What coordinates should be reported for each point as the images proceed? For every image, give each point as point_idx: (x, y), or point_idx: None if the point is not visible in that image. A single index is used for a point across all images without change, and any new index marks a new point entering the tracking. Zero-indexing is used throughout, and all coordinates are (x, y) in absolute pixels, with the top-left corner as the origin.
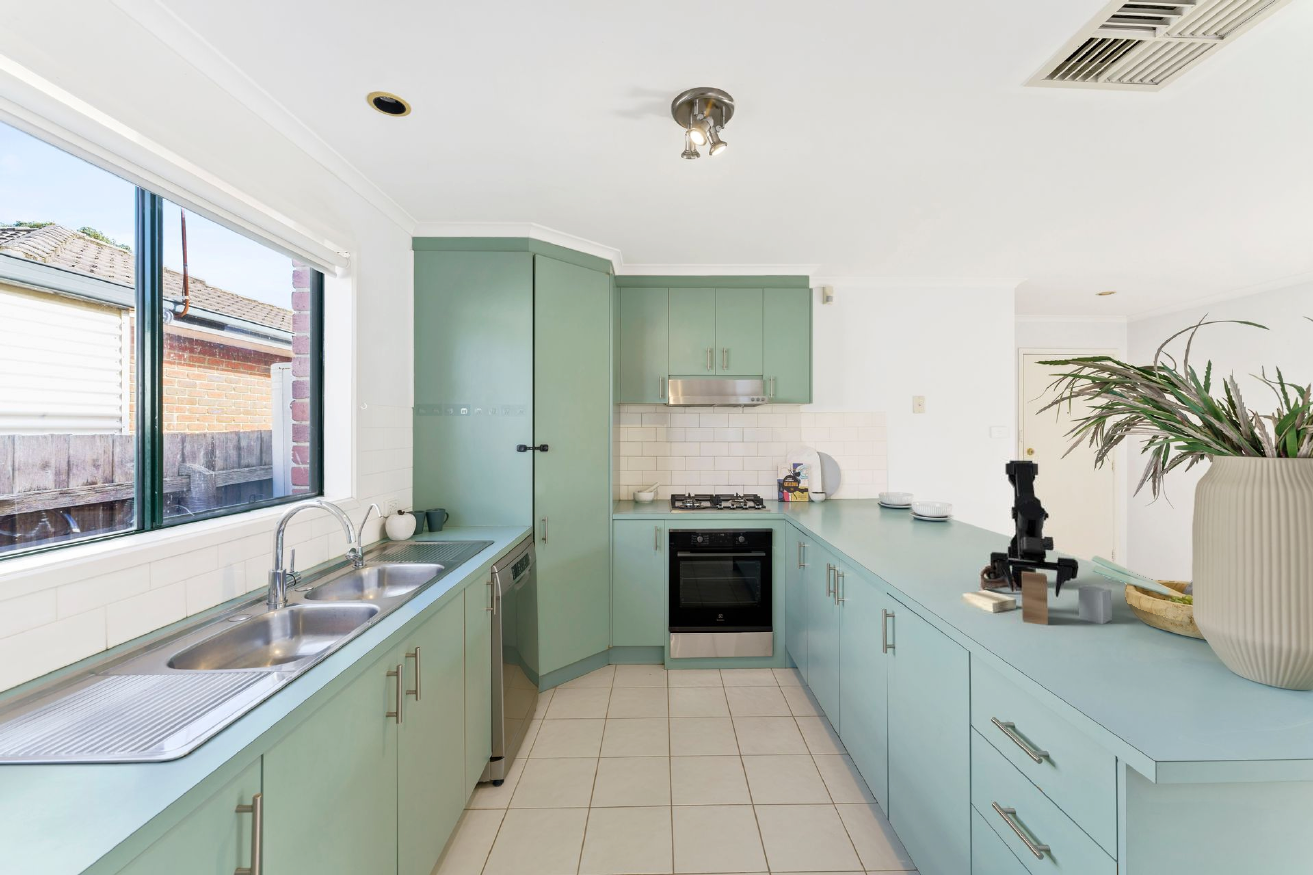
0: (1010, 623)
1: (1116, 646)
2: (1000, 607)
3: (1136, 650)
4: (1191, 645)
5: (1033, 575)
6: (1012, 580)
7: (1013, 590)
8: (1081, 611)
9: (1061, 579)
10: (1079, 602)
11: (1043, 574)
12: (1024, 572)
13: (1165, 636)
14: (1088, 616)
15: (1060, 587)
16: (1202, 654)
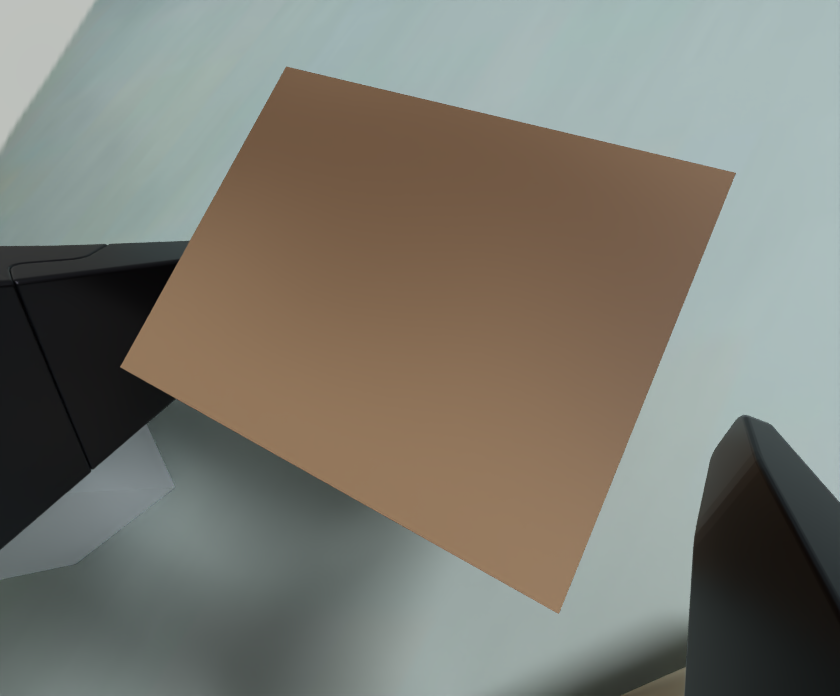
0: (718, 343)
1: (302, 70)
2: (681, 687)
3: (255, 44)
4: (14, 149)
5: (471, 167)
6: (791, 508)
7: (738, 422)
8: (130, 475)
9: (51, 254)
10: (76, 486)
11: (205, 284)
12: (544, 456)
13: (12, 236)
14: (135, 441)
15: (185, 245)
16: (61, 65)
